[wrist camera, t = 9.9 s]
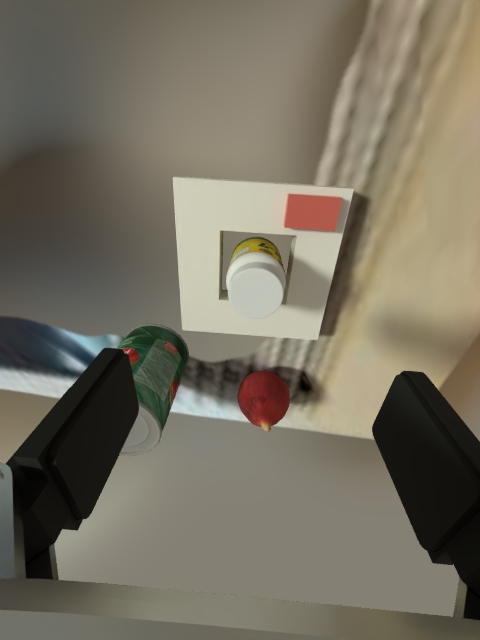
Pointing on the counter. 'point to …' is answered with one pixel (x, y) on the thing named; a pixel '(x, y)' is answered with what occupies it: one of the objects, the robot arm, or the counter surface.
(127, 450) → the canned tomato
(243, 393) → the onion
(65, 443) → the robot arm
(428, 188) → the counter surface
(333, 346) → the counter surface
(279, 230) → the socket plate
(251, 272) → the supplement bottle
